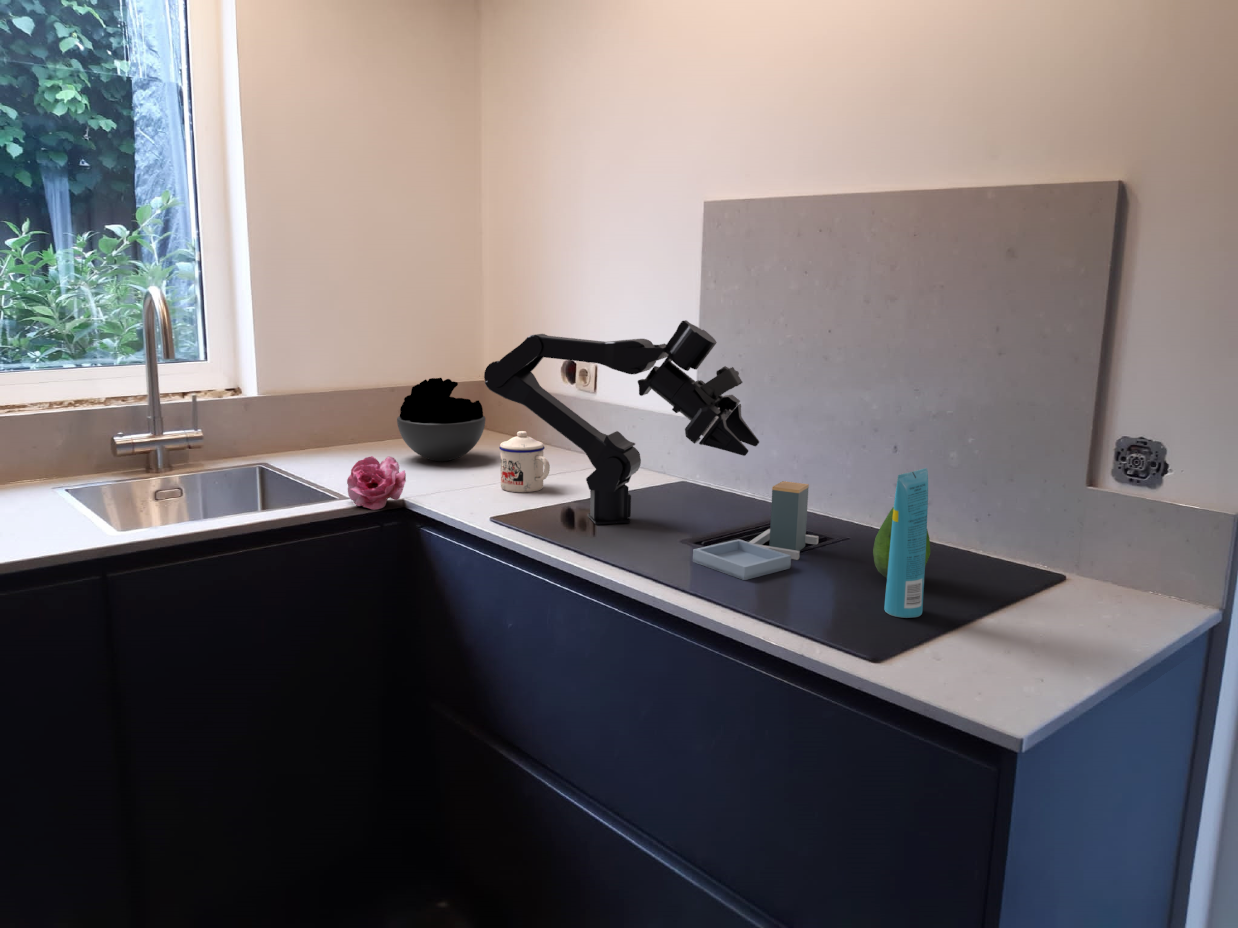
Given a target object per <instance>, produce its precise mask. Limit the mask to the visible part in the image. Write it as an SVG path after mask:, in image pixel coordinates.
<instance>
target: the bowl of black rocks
mask: <svg viewBox="0 0 1238 928" xmlns="http://www.w3.org/2000/svg"><path fill="white" fill-rule="evenodd" d="M458 384H459V383H458V382H457V381H452V379H450V378H446V379H444V380H443V378H442V377H439V378H438V377H433V378H429V379H426V378H425V379H424V380H423V381H420V382H419V383H417V384H415V385H414V386H411V391H410V394H409V395H407V396H405V397H404V398H403V402H402V404H401V406H400V409H399V411H400V413H399V416H397V417H396V423H397V428H398V431H399V434H400V436H401V438H402V440H403V441H404V443H405V444H406V445H407V447H408V448H409V449H411V451H413V452H414V453H415V454H417V455H418V456H420V457H422V458H424V459H428V460H430V461H438V462H447V461H451V460H456V459H458V458H460V457H462V456H465V455H466V454H467V453H469V452H470V451H471V450H472V449H473V448H474V447H475V446H477V444H478V442H479V441H480V439H481V437H482V435H483V433H484V430H485V425H486V416H484V412H483V411H484V409H483V405H482V403H481V402H480V400H475V401H472V400H471V399H469V398H463V397H453V396H451V395H452V392H453V391H454V389H455V388H456V387H458Z"/></svg>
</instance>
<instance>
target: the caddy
mask: <svg viewBox="0 0 1238 928" xmlns="http://www.w3.org/2000/svg"><path fill="white" fill-rule="evenodd" d="M809 486H810V485H809V483H803V482H802V483H801V482H793V481H786V480H785V481H784V480H782V481H781V482H778V483H777V484H775V485H773V486H772V488H771V504H770V505H771V508H770V523H769V525H770V527H769V529H770V540H769V545H768V546H771V547H777V548H784V549H790V550H796V551H800V552H801V550H802V549H804V548H805V547H806V543H805V538H806V535H807V522H808V521H807V519H808V502H809V501H808V500H809V488H810V487H809Z"/></svg>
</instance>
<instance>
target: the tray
mask: <svg viewBox="0 0 1238 928" xmlns="http://www.w3.org/2000/svg"><path fill="white" fill-rule="evenodd" d="M791 562H792V559H791V555H787V554H784V553H781V552H778V551H775V550H772V549H769V548H765V547H762V546H759V545H756V544H753V543H750V541H745V540H743V539H740V538H739V539H738V538H737V539H734V540H729V541H725V542H719V543H717V544H716V543H715V544H711V545H707V546H702V547H699V548H694V549H692V563H694V564H697V565H701V566H703V567H706V568H709V569H712V570H715V571H718V572H721V573H723V574H725V575H728V576H731V577H733V578H737V579H739V580H742V581H747V580H750V579H754V578H758V577H762V576H766V575H770V574H773V573H778V572H781V571H784V570H785V571H786V570H789V569H791V564H792V563H791Z"/></svg>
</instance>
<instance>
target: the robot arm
mask: <svg viewBox="0 0 1238 928" xmlns="http://www.w3.org/2000/svg"><path fill="white" fill-rule="evenodd" d="M716 345H717V341H716V339H715V338H714V337H713V336H712V335H711V334H710V333H709V332H708V331H707V330H704V329H701V328H700V327H698V326H697V325H695V324H694V323H693V324H692V323H690V322H689V321H688V320H687V319H686V320H682V321H680V323H679V325H678V326H677V328H676V330H675V332H674V333H673V334H672V335H671V338H670V339H669V341H667V343H661V344H653V343H652V341H651V340H649V339H647V338H632V339H621V340H612V341H611V340H610V341H602V340H601V341H600V340H592V339H582V338H573V337H563V336H555V335H554V336H553V335H547V334H545V333H537V334H530V335H529V336H527V337H526V338H525V340H523V341H522V342H521V343H520V344H519V345H518V346H516V347H515V348H514V349H512V350H510V352H508V353H507V354H505V355H503V357H501V359H500V360H496V361H492V362H491V363H489V364H488V365H487V366H486V368H485V370H484V372H483V373H484V376H483V378H484V385H485V387H486V388H487V389H488V390H489V391H491V392H492V393H494V394H496V395H498V396H500V397H502V398H503V399H506V400H508V401H510V402H514V403H517V404H520V405H522V406H524V407H526V408H527V410H529V411H531V412H532V413H534V415H536V416H537V417H538V418H540V419H541V420H543V421H544V422H545V423H546V424H548V425H549V426H550V427H552V428H553V429H554V430H556V431H557V432H558V433H559V434H561V435H562V436H564V437H565V438H567V440H569V441H570V442H572V443H573V444H574V445H575V446H577V447H578V448H579V449H581V450H582V452H584V453H585V454H586V457H587V458H588V460H589V461H590V463H591V465H592V467H594V468H595V470H593V472H591V473H590V474H589V475H588V476H587V477H586V478H585V481H586V483H587V487H588V490H589V491H590V501H589V505H590V506H589V507H590V508H589V509H590V510H589V511H590V512H588V513H587V517H588V518H589V519H590V520H591V522H593V523H594V524H595V525H608V524H609V525H610V524H611V525H612V524H629V523H630V524H631V522H632V520H631V517H632V495H631V494H630V492H629V486H628V485H627V484H628V483H629V482H630V480H631V477H632V476H633V475H635V474H636V473H637V472H638V471H639V469H640V467H641V464H642V459H641V453H640V451H639V450H638V449H637V448H636V447H635V445H636V442H633V441H629V440H628V439H627V437H625V436H624V435H623V434H622V433H621V432H619V431H618V430H616V431H613V432H612V433H610V434H606V433H603V432H602V431H600V430H598V429H597V428H596V427H595V426H593V425H592V424H590V423H589V422H588V421H586V420H585V419H584V418H582V416H580V415H579V414H577V413H576V412H575V411H573V410H572V409H571V408H570V407H568V406H567V405H565V404H564V403H563V402H562V401H560V400H559V399H557V398H556V397H555V396H554V395H552V394H551V393H550V392H549V391H547V390H546V389H545V388H543V387H542V386H541V385H540V383H539V381H538V380H537V378H536V376H535V374H534V373H533V371H534V370H535V369H536V368H537V366H538V365H539V364H540V363H541V361H542V360H543V359H544V358H545V359H546V358H548V359H556V360H565V361H571V362H572V361H575V362H583V363H589V364H590V363H592V364H599V365H603V366H604V367H607V368H609V369H611V370H614V371H618V372H621V373H624V374H627V375H638V374H642V373H645V372H648V371H650V372H649V373H648V375H647V376H646V377H645V378H642V379H638V380H637V384H638V395H639V396H641V397H642V396H643V397H644V396H645V395H648V394H649V393H650V391H651V390H652V391H653V392H655V393H656V394H657V395H658V396H659V397H661V398H662V399H663V400H664V401H666V402H667V403H668V404H669V405H670V406H672V409H671V411H672V412H674V413H675V414H678V413H681V414H682V415H683V416H684V417H685V418H687V419H688V420H689V423H688V424H687V425H686V427H685V428H684V431H685V433H684V434H685V437H686V439H688V440H689V441H690V442H691V443H693V444H696V443H698V444H699V445H700V446H707V447H711V448H715V449H719V450H722V451H725V452H729V453H733V454H737V455H739V456H743V457H745V456H746V455H748V453H749V449H748V448H747V447H746V446H745V444H747V445H750V446H752V447H757V446H758V445H759V444H760V440H759V439H758V437H757V436H756V435H755V434H754V432H753V431H752V430H751V428H750V426H749V425H748V424H747V423H746V421H745V420H744V418H743V417H742V404H741V403H740V402H741V400H740V399H739V398H737V397H736V396H735V395H734V394H725V393H726V392H728V391H730V390H732V389H734V388H735V387H739V386H740V385H742V384H743V381H742V379H741V377H740V373H739V371H738V370H736V369H735V367H733V366H731V367H730V368H729V367H727V366H726V365H725V366H723V367H722V368H720V369H718V370H716V373H715V374H716V376H714V377H713V378H712V379H710V380H708V381H707V382H705V381H703V380H694V379H693V378H692V377H690V375H688V374H687V373H685V371H687V372H688V371H690V370H691V369H692V370H698V368H700V366H701V365H702V364H703V362H704V360H705V359H706V358H707V357H708V355H709V354H710V353H711V351H712V350H713V349H714V347H715V346H716ZM663 359H664V361H663V362H662V363H661V364H660V366H655V364H656V363H657V361H660V360H663ZM683 370H684V371H683ZM723 394H725V395H723ZM701 436H702V438H701ZM743 443H744V444H743Z"/></svg>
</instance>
